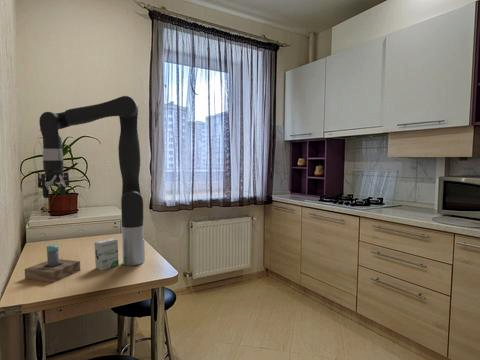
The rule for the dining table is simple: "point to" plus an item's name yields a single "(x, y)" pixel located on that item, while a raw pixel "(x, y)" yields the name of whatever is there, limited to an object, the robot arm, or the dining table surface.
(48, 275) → the socket
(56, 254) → the peg
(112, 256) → the ink box
